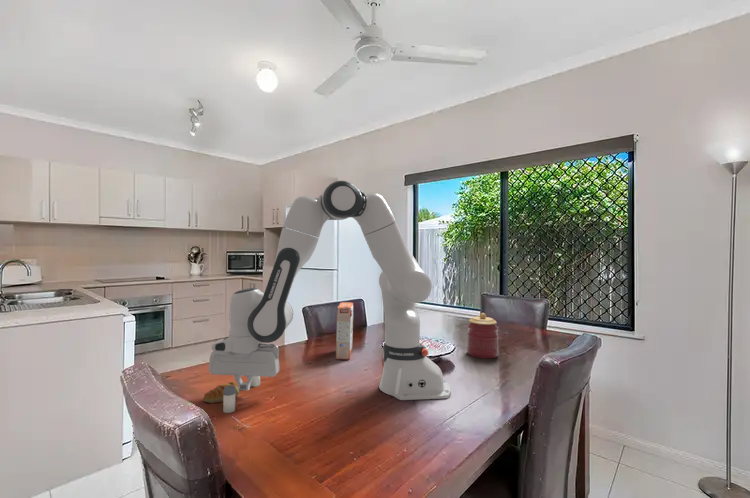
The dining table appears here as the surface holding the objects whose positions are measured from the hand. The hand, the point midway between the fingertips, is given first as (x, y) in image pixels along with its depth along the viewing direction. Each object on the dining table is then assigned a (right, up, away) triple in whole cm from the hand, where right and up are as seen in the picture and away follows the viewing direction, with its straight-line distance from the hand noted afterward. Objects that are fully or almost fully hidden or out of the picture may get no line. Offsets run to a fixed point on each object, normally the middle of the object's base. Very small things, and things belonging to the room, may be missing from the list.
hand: (244, 389), depth 106 cm
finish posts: (0, -2, 0) cm, 2 cm away
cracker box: (+26, -2, +42) cm, 50 cm away
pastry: (-6, -2, -1) cm, 7 cm away
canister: (+85, -3, +46) cm, 96 cm away
